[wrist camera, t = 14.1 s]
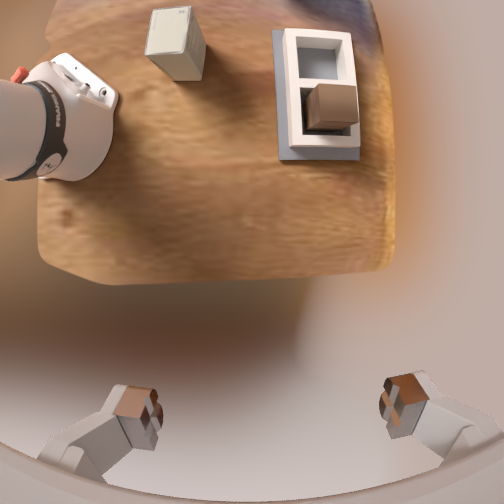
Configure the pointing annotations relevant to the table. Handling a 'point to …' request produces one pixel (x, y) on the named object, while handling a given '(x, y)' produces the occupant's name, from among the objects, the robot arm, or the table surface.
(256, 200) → the table surface
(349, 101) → the walnut peg
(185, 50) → the skincare box
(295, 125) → the slot rack
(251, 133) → the table surface
